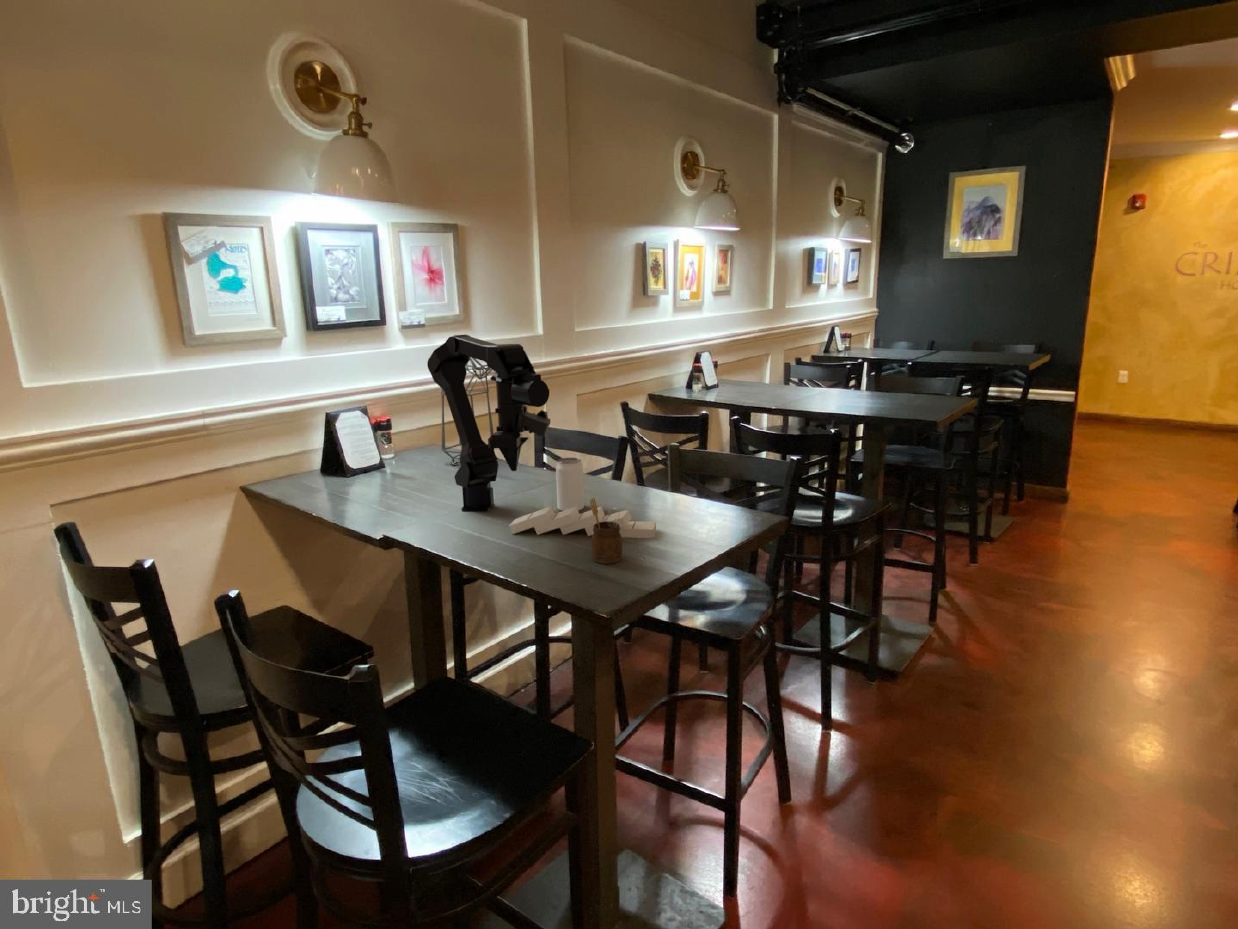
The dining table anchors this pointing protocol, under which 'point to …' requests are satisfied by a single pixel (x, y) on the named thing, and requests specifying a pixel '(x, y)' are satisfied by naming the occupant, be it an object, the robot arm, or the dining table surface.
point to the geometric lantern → (471, 402)
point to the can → (570, 484)
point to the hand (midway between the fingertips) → (514, 470)
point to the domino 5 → (638, 529)
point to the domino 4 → (622, 520)
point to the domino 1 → (532, 520)
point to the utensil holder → (606, 539)
